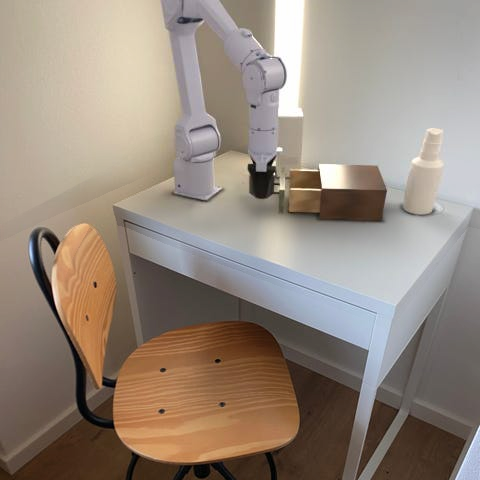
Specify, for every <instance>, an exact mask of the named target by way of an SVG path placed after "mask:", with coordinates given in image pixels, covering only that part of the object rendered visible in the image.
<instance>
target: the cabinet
mask: <svg viewBox="0 0 480 480" xmlns="http://www.w3.org/2000/svg"><path fill="white" fill-rule="evenodd" d="M317 170H319V173H320V181H321V188H322V193H321V203H320V212H319V213H318V212H317V214H318V220H322V221H323V220H325V221H327V220H329V221H357V222H383V221H382V219H383V214H384V210H385V204H386V200H387V199H386V198H387V193H388V189H387V187H386V186H387V185H386V183H385V181H384V178H383V177H382V173H381V171H380V167H379V165H374V164H373V165H370V164H369V165H367V164H331V163H329V164H328V163H318V169H317Z"/></svg>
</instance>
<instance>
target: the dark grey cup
mask: <svg viewBox="0 0 480 480" xmlns="http://www.w3.org/2000/svg"><path fill="white" fill-rule="evenodd" d="M248 178H249V179H248V193H249V194H250V195H251V196H252V197H253V198H255V199H258V200H265V199H268V198H270V197H271V196H273V195H275V194H274V191H275V186H274V185H275V182H276V181H275V180H276V173H275V172H274V174H273V176H272V178H271V180H270V184H269V188H268V193H267V197H266V198H256V196H255V191H254V185H253V181H252V178H251V175H250V173H249V175H248Z"/></svg>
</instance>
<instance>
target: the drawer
mask: <svg viewBox="0 0 480 480" xmlns="http://www.w3.org/2000/svg"><path fill="white" fill-rule="evenodd" d="M278 179H279V181H275V185H274V187H275V186H278V190H274V194H273V195H278V213H277V214H279V215H280V214H281V215H282V214H283V215H284V213H285V196H286V177H285V168H280V177H279V178H278ZM288 181H289V182H288V211H289V213H291V212H292V213H317V214H318V213H319V212H320V203H321V193H322V188H321V181H320V173H319V170H318V169H301V170H298V169H290V177H289V179H288Z"/></svg>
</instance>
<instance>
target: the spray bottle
mask: <svg viewBox="0 0 480 480" xmlns="http://www.w3.org/2000/svg"><path fill="white" fill-rule="evenodd" d="M444 132H445V131H444V130H443V129H441V128H438V127H430V128H427V129H426V131H425V137H424V139H423V141H422V144H421V149H420V153H419V156H417V157H415V158H413V159H412V161H411V164H410V168H409V172H408V179H407V182H406V186H405V187H406V188H405V192H404V197H403V201H402V209H403V210H404V211H406V212H407V213H408V214H409V213H410V214H414V215H418V216H419V215H423V216H424V215H428V214H430V213H432V212H433V210H434V207H435V203H436V198H437V195H438V190H439V186H440V182H441V178H442V175H443V171H444V166H445V164H444V162H443V160H441V159H440V155H441V150H442V145H443V136H444Z"/></svg>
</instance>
